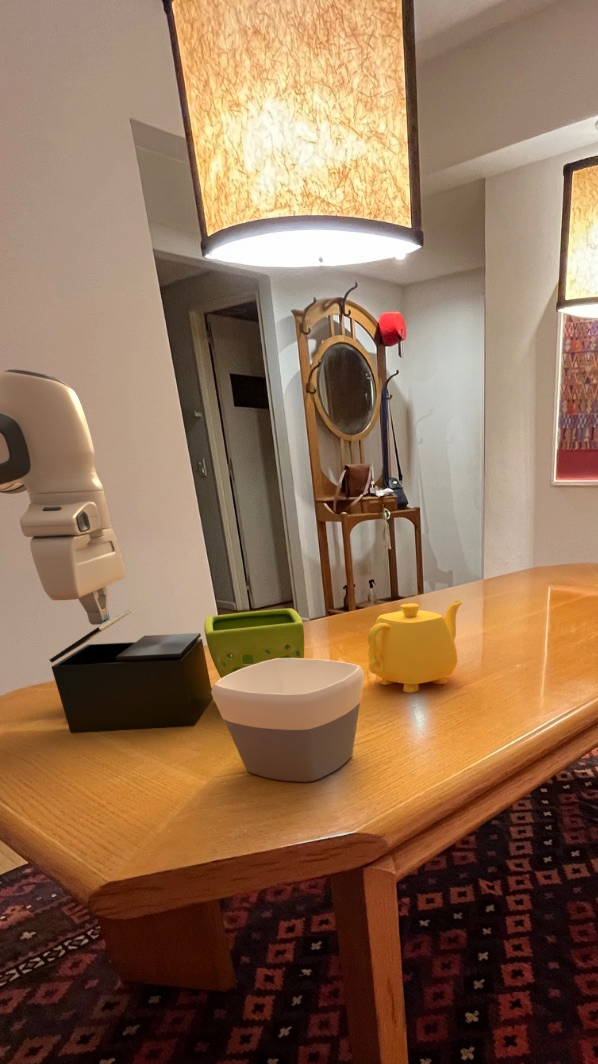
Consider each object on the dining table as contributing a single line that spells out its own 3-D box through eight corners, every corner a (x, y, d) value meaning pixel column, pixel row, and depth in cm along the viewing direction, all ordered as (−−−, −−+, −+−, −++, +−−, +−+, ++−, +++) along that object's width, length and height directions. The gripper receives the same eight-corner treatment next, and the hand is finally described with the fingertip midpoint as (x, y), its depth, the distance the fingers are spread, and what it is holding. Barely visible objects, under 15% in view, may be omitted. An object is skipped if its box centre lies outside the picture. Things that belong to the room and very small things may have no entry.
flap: (51, 663, 90) (48, 659, 90) (87, 641, 102) (85, 638, 101) (100, 630, 89) (98, 627, 89) (131, 612, 101) (128, 609, 100)
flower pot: (304, 683, 114) (294, 606, 108) (315, 707, 102) (305, 622, 96) (218, 692, 110) (203, 613, 105) (219, 719, 98) (202, 631, 93)
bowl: (285, 734, 92) (274, 653, 87) (385, 748, 86) (379, 663, 81) (209, 778, 79) (190, 686, 74) (320, 798, 74) (308, 700, 69)
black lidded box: (70, 733, 95) (49, 660, 90) (103, 704, 106) (85, 638, 102) (194, 725, 96) (179, 653, 91) (213, 698, 108) (200, 632, 103)
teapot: (348, 684, 112) (340, 606, 107) (439, 662, 124) (436, 590, 119) (397, 702, 103) (392, 618, 98) (491, 676, 115) (491, 599, 109)
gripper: (78, 512, 98) (103, 609, 104) (11, 522, 79) (46, 639, 86) (123, 510, 98) (145, 607, 104) (67, 520, 80) (98, 637, 86)
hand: (100, 622), depth 95 cm, fingers closed
